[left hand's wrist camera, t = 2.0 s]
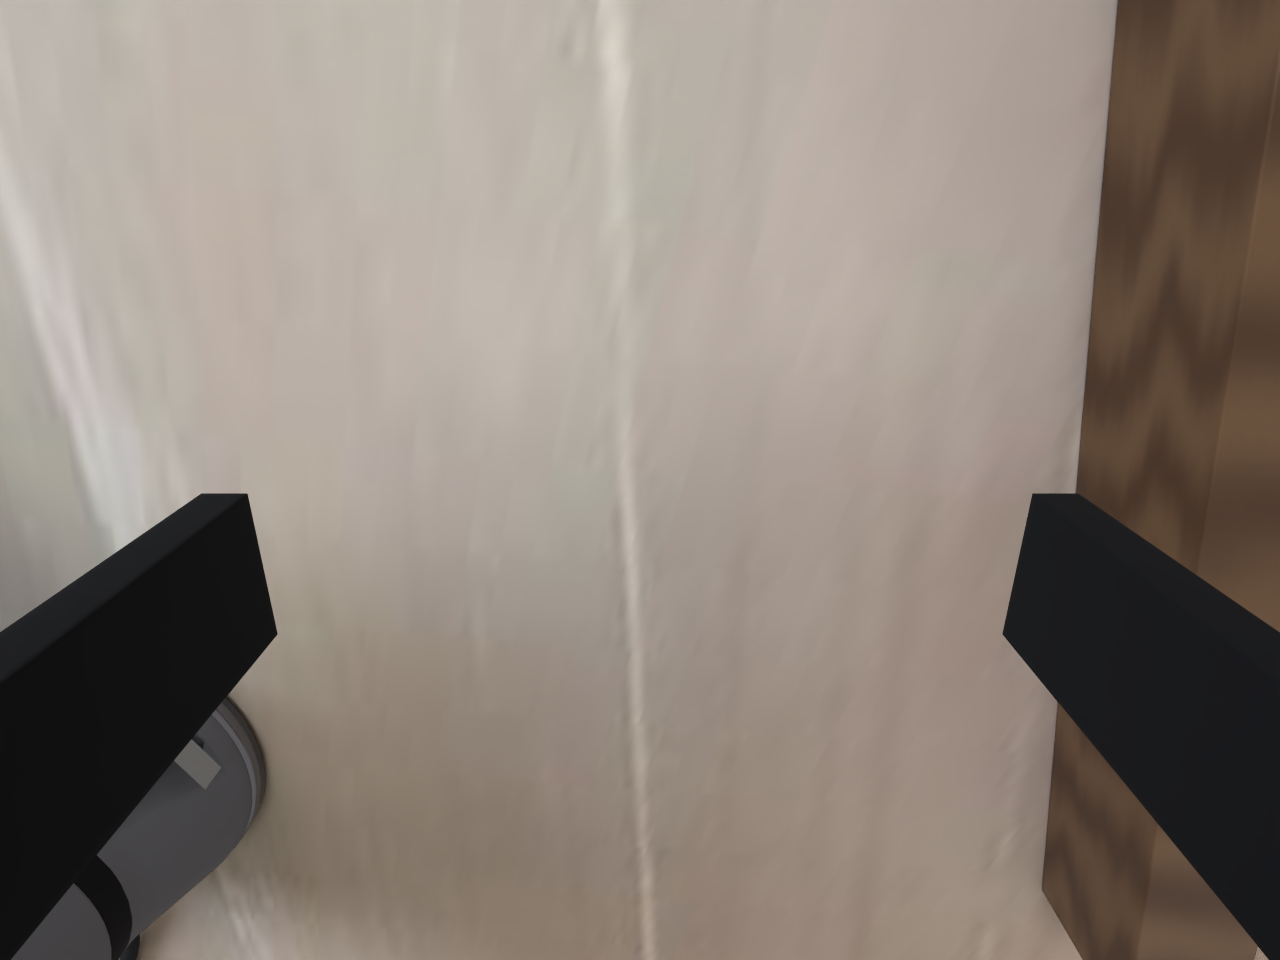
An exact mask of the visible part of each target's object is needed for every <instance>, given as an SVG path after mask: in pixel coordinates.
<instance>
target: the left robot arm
mask: <svg viewBox="0 0 1280 960" xmlns="http://www.w3.org/2000/svg"><path fill="white" fill-rule="evenodd" d="M276 635H277V630H276V625H275V620H274V616H273V611H272V606H271V602H270V597H269V592H268V588H267V583H266V578H265V574H264V569H263V564H262V560H261V555H260V550H259V546H258V541H257V536H256V531H255V527H254V522H253V517H252V513H251V508H250V503H249V499H248V494H200V495H199V496H197V497H196V498H194V499H193V500H192V501H190V502H189V503H187V504H186V505H184V506H183V507H181V508H180V509H179V510H177V511H176V512H174V513H173V514H171V515H170V516H168V517H167V518H165V519H164V520H163V521H161V522H160V523H158V524H157V525H155V526H154V527H152V528H151V529H150V530H148V531H147V532H145V533H144V534H142V535H141V536H139V537H138V538H136V539H135V540H134V541H132V542H131V543H129V544H128V545H126V546H125V547H123V548H122V549H120V550H119V551H118V552H116V553H115V554H113V555H112V556H110V557H109V558H107V559H106V560H105V561H103V562H102V563H100V564H99V565H97V566H96V567H94V568H93V569H91V570H90V571H89V572H87V573H86V574H84V575H83V576H81V577H80V578H78V579H77V580H76V581H74V582H73V583H71V584H70V585H68V586H67V587H65V588H64V589H62V590H61V591H60V592H58V593H57V594H55V595H54V596H52V597H51V598H49V599H48V600H46V601H45V602H44V603H42V604H41V605H39V606H38V607H36V608H35V609H33V610H32V611H31V612H29V613H28V614H26V615H25V616H23V617H22V618H20V619H19V620H17V621H16V622H15V623H13V624H12V625H10V626H9V627H7V628H6V629H4V630H3V631H2V632H0V960H119V958H120V960H136V957H137V953H138V949H139V941H140V933H141V932H142V931H143V930H144V929H146V928H147V927H148V926H149V925H150V924H151V923H153V922H154V921H155V920H156V919H157V918H158V917H160V916H161V915H162V914H163V913H164V912H165V911H167V910H168V909H169V908H170V907H171V906H172V905H173V904H175V903H176V902H177V901H178V900H179V899H180V898H182V897H183V896H184V895H185V894H186V893H187V892H189V891H190V890H191V889H192V888H193V887H194V886H196V885H197V884H198V883H199V882H200V881H201V880H202V879H204V878H205V877H206V876H207V875H208V874H209V873H210V872H212V871H213V870H214V869H215V868H216V867H218V866H219V865H220V864H221V863H222V862H223V861H224V859H225V858H226V857H227V856H228V855H229V854H230V852H231V851H232V850H233V849H234V848H235V847H236V845H237V844H238V843H239V841H240V840H241V839H242V837H243V836H244V834H245V832H246V831H247V829H248V827H249V826H250V824H251V823H252V821H253V819H254V818H255V816H256V814H257V812H258V810H259V808H260V805H261V802H262V799H263V794H264V788H265V771H264V764H263V759H262V755H261V752H260V749H259V746H258V744H257V742H256V739H255V737H254V735H253V733H252V731H251V730H250V728H249V726H248V724H247V723H246V722H245V720H244V719H243V717H242V716H241V715H240V713H239V712H238V711H237V710H236V709H235V707H234V706H233V705H232V704H231V703H230V702H229V701H228V700H227V699H226V696H227V695H228V694H229V693H230V692H231V690H232V689H233V688H234V687H235V685H236V684H237V683H238V682H239V681H240V679H241V678H242V677H243V676H244V675H245V673H246V672H247V671H248V670H249V668H250V667H251V666H252V665H253V664H254V662H255V661H256V660H257V659H258V657H259V656H260V655H261V654H262V653H263V651H264V650H265V649H266V648H267V646H268V645H269V644H270V643H271V642H272V640H273V639H274V638H275V637H276ZM1003 635H1004V637H1005V638H1006V639H1007V640H1008V642H1009V643H1010V644H1011V645H1012V646H1013V648H1014V649H1015V650H1016V651H1017V653H1018V654H1019V655H1020V656H1021V657H1022V659H1023V660H1024V661H1025V662H1026V664H1027V665H1028V666H1029V667H1030V668H1031V670H1032V671H1033V672H1034V673H1035V675H1036V676H1037V677H1038V678H1039V679H1040V681H1041V682H1042V683H1043V684H1044V685H1045V687H1046V688H1047V689H1048V690H1049V692H1050V693H1051V694H1052V695H1053V696H1054V698H1055V699H1056V700H1057V701H1058V703H1059V704H1060V705H1061V706H1062V707H1063V709H1064V710H1065V711H1066V712H1067V714H1068V715H1069V716H1070V717H1071V718H1072V720H1073V721H1074V722H1075V723H1076V725H1077V726H1078V727H1079V728H1080V729H1081V731H1082V732H1083V733H1084V734H1085V736H1086V737H1087V738H1088V739H1089V740H1090V742H1091V743H1092V744H1093V745H1094V747H1095V748H1096V749H1097V750H1098V751H1099V753H1100V754H1101V755H1102V756H1103V758H1104V759H1105V760H1106V761H1107V762H1108V764H1109V765H1110V766H1111V767H1112V769H1113V770H1114V771H1115V772H1116V773H1117V775H1118V776H1119V777H1120V778H1121V780H1122V781H1123V782H1124V783H1125V784H1126V786H1127V787H1128V788H1129V789H1130V791H1131V792H1132V793H1133V794H1134V795H1135V797H1136V798H1137V799H1138V800H1139V802H1140V803H1141V804H1142V805H1143V806H1144V808H1145V809H1146V810H1147V811H1148V813H1149V814H1150V815H1151V816H1152V817H1153V819H1154V820H1155V821H1156V822H1157V824H1158V825H1159V826H1160V827H1161V828H1162V830H1163V831H1164V832H1165V833H1166V834H1167V836H1168V837H1169V838H1170V839H1171V841H1172V842H1173V843H1174V844H1175V845H1176V847H1177V848H1178V849H1179V850H1180V852H1181V853H1182V854H1183V855H1184V856H1185V858H1186V859H1187V860H1188V861H1189V863H1190V864H1191V865H1192V866H1193V867H1194V869H1195V870H1196V871H1197V872H1198V874H1199V875H1200V876H1201V877H1202V878H1203V880H1204V881H1205V882H1206V883H1207V885H1208V886H1209V887H1210V888H1211V889H1212V891H1213V892H1214V893H1215V894H1216V896H1217V897H1218V898H1219V899H1220V900H1221V902H1222V903H1223V904H1224V905H1225V907H1226V908H1227V909H1228V910H1229V911H1230V913H1231V914H1232V915H1233V916H1234V918H1235V919H1236V920H1237V921H1238V922H1239V924H1240V925H1241V926H1242V927H1243V929H1244V930H1245V931H1246V932H1247V933H1248V935H1249V936H1250V937H1251V938H1252V940H1253V941H1254V942H1255V943H1256V944H1257V946H1258V947H1259V948H1260V949H1261V951H1262V952H1263V953H1264V954H1265V955H1266V957H1267V958H1268V959H1269V960H1280V632H1278V631H1277V630H1276V629H1274V628H1273V627H1271V626H1270V625H1268V624H1267V623H1265V622H1264V621H1263V620H1261V619H1260V618H1258V617H1257V616H1255V615H1254V614H1252V613H1251V612H1249V611H1248V610H1247V609H1245V608H1244V607H1242V606H1241V605H1239V604H1238V603H1236V602H1235V601H1234V600H1232V599H1231V598H1229V597H1228V596H1226V595H1225V594H1223V593H1222V592H1220V591H1219V590H1218V589H1216V588H1215V587H1213V586H1212V585H1210V584H1209V583H1207V582H1206V581H1204V580H1203V579H1202V578H1200V577H1199V576H1197V575H1196V574H1194V573H1193V572H1191V571H1190V570H1189V569H1187V568H1186V567H1184V566H1183V565H1181V564H1180V563H1178V562H1177V561H1175V560H1174V559H1173V558H1171V557H1170V556H1168V555H1167V554H1165V553H1164V552H1162V551H1161V550H1160V549H1158V548H1157V547H1155V546H1154V545H1152V544H1151V543H1149V542H1148V541H1146V540H1145V539H1144V538H1142V537H1141V536H1139V535H1138V534H1136V533H1135V532H1133V531H1132V530H1130V529H1129V528H1128V527H1126V526H1125V525H1123V524H1122V523H1120V522H1119V521H1117V520H1116V519H1115V518H1113V517H1112V516H1110V515H1109V514H1107V513H1106V512H1104V511H1103V510H1101V509H1100V508H1099V507H1097V506H1096V505H1094V504H1093V503H1091V502H1090V501H1088V500H1087V499H1086V498H1084V497H1083V496H1081V495H1080V494H1032V499H1031V503H1030V508H1029V513H1028V517H1027V522H1026V527H1025V531H1024V536H1023V541H1022V546H1021V550H1020V555H1019V560H1018V564H1017V569H1016V574H1015V578H1014V583H1013V588H1012V592H1011V597H1010V602H1009V606H1008V611H1007V616H1006V620H1005V625H1004V630H1003Z"/></svg>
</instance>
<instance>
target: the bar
mask: <svg viewBox="0 0 1280 960" xmlns="http://www.w3.org/2000/svg"><path fill="white" fill-rule="evenodd" d="M1076 494H1080V495H1081V496H1083V497H1084V498H1086V499H1087V500H1088V501H1090V502H1091V503H1093V504H1094V505H1096V506H1097V507H1099V508H1100V509H1101V510H1103V511H1104V512H1106V513H1107V514H1109V515H1110V516H1112V517H1113V518H1115V519H1116V520H1117V521H1119V522H1120V523H1122V524H1123V525H1125V526H1126V527H1128V528H1129V529H1130V530H1132V531H1133V532H1135V533H1136V534H1138V535H1139V536H1141V537H1142V538H1144V539H1145V540H1146V541H1148V542H1149V543H1151V544H1152V545H1154V546H1155V547H1157V548H1158V549H1160V550H1161V551H1162V552H1164V553H1165V554H1167V555H1168V556H1170V557H1171V558H1173V559H1174V560H1175V561H1177V562H1178V563H1180V564H1181V565H1183V566H1184V567H1186V568H1187V569H1189V570H1190V571H1191V572H1193V573H1194V574H1196V575H1197V576H1199V577H1200V578H1202V579H1203V580H1204V581H1206V582H1207V583H1209V584H1210V585H1212V586H1213V587H1215V588H1216V589H1218V590H1219V591H1220V592H1222V593H1223V594H1225V595H1226V596H1228V597H1229V598H1231V599H1232V600H1234V601H1235V602H1236V603H1238V604H1239V605H1241V606H1242V607H1244V608H1245V609H1247V610H1248V611H1249V612H1251V613H1252V614H1254V615H1255V616H1257V617H1258V618H1260V619H1261V620H1263V621H1264V622H1265V623H1267V624H1268V625H1270V626H1271V627H1273V628H1274V629H1276V630H1277V631H1278V632H1280V0H1118V10H1117V22H1116V34H1115V45H1114V57H1113V69H1112V81H1111V92H1110V104H1109V116H1108V127H1107V139H1106V151H1105V162H1104V174H1103V186H1102V197H1101V209H1100V221H1099V232H1098V244H1097V256H1096V267H1095V279H1094V291H1093V303H1092V314H1091V326H1090V338H1089V349H1088V361H1087V373H1086V384H1085V396H1084V408H1083V419H1082V431H1081V443H1080V454H1079V466H1078V478H1077V489H1076ZM1042 891H1043V892H1044V894H1045V896H1046V898H1047V899H1048V901H1049V903H1050V904H1051V906H1052V908H1053V910H1054V911H1055V913H1056V915H1057V916H1058V918H1059V920H1060V922H1061V923H1062V925H1063V927H1064V928H1065V930H1066V932H1067V934H1068V935H1069V937H1070V939H1071V940H1072V942H1073V944H1074V946H1075V947H1076V949H1077V951H1078V952H1079V954H1080V956H1081V958H1082V959H1083V960H1254V959H1255V955H1256V951H1257V947H1258V946H1257V944H1256V943H1255V942H1254V941H1253V940H1252V938H1251V937H1250V936H1249V935H1248V933H1247V932H1246V931H1245V930H1244V929H1243V927H1242V926H1241V925H1240V924H1239V922H1238V921H1237V920H1236V919H1235V918H1234V916H1233V915H1232V914H1231V913H1230V911H1229V910H1228V909H1227V908H1226V907H1225V905H1224V904H1223V903H1222V902H1221V900H1220V899H1219V898H1218V897H1217V896H1216V894H1215V893H1214V892H1213V891H1212V889H1211V888H1210V887H1209V886H1208V885H1207V883H1206V882H1205V881H1204V880H1203V878H1202V877H1201V876H1200V875H1199V874H1198V872H1197V871H1196V870H1195V869H1194V867H1193V866H1192V865H1191V864H1190V863H1189V861H1188V860H1187V859H1186V858H1185V856H1184V855H1183V854H1182V853H1181V852H1180V850H1179V849H1178V848H1177V847H1176V845H1175V844H1174V843H1173V842H1172V841H1171V839H1170V838H1169V837H1168V836H1167V834H1166V833H1165V832H1164V831H1163V830H1162V828H1161V827H1160V826H1159V825H1158V824H1157V822H1156V821H1155V820H1154V819H1153V817H1152V816H1151V815H1150V814H1149V813H1148V811H1147V810H1146V809H1145V808H1144V806H1143V805H1142V804H1141V803H1140V802H1139V800H1138V799H1137V798H1136V797H1135V795H1134V794H1133V793H1132V792H1131V791H1130V789H1129V788H1128V787H1127V786H1126V784H1125V783H1124V782H1123V781H1122V780H1121V778H1120V777H1119V776H1118V775H1117V773H1116V772H1115V771H1114V770H1113V769H1112V767H1111V766H1110V765H1109V764H1108V762H1107V761H1106V760H1105V759H1104V758H1103V756H1102V755H1101V754H1100V753H1099V751H1098V750H1097V749H1096V748H1095V747H1094V745H1093V744H1092V743H1091V742H1090V740H1089V739H1088V738H1087V737H1086V736H1085V734H1084V733H1083V732H1082V731H1081V729H1080V728H1079V727H1078V726H1077V725H1076V723H1075V722H1074V721H1073V720H1072V718H1071V717H1070V716H1069V715H1068V714H1067V712H1066V711H1065V710H1064V709H1063V707H1062V706H1061V705H1060V704H1059V703H1058V711H1057V723H1056V735H1055V747H1054V758H1053V770H1052V782H1051V793H1050V805H1049V817H1048V828H1047V840H1046V852H1045V863H1044V875H1043V887H1042Z"/></svg>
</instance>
